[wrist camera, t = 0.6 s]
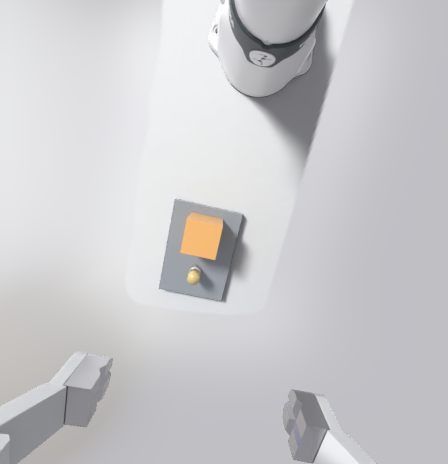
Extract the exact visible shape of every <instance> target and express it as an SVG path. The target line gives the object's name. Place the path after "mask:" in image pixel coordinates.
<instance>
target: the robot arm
mask: <svg viewBox="0 0 448 464" xmlns="http://www.w3.org/2000/svg"><path fill="white" fill-rule="evenodd" d="M327 1H328V0H221V3H220V5H219V8H218V11H217V13H216V16H215V19H214V22H213V24H212V27H211V30H210V32H209V36H208V43H209V46H210V47H211V49H212V50H213V51H214V52H215V54H216V55H217V56H218V58H219V60H220V62H221V66H222V69H223V71H224V73H225V75H226V77H227V79H228V80H229V82H230V83H231V84H232V85H233V86H234V87H235V88H236V89H237V90H239V91H240V92H242V93H244V94H246V95H249V96H254V97H263V96H268V95H271V94H274V93H276V92H278V91H279V90H281V89H282V88H283V87H284V86H285V85H286V84H287V83H288V82H289V81H290V80H291V79H293V78H294V77H296V76H299V75H301V74H303V73H305V72H307V71H308V70H309V68H310V66H311V63H312V54H313V47H314V45H315V43H316V38H315V34H316V27H317V25H318V23H319V21H320V18H321V16H322V13H323V11H324V8H325V5H326V2H327ZM216 31H217V33H216ZM112 360H113V359H112V358H110V357H105V356H101V355H95V354H91V353H85V352H80V351H77V352H75V353H74V354H73V355H72V356H71V357H70V359H69V360H68V361H67V362H66V363H65V365H64V366H63V367H62V368H61V369H60V370H59V372H58V373H57V374H56V375H55V376H54V377H53V379H52V380H51V381H50V382H49V383H43V384H41V385H40V386H38V387H36V388H34V389H32V390H30V391H29V392H26V393H24V394H22V395H20V396H19V397H17V398H15V399H13V400H11V401H9V402H7V403H5V404H4V405H1V406H0V464H17V463H18V462H20V461H21V460H22V459H23V458H25V457H26V456H27V455H28V454H30V453H31V452H32V451H33V450H34V449H36V448H37V447H38V446H39V445H41V444H42V443H43V442H44V441H45V440H47V439H48V438H49V437H50V436H52V435H53V434H54V433H55V432H57V431H58V430H59V429H60V428H62V427H63V424H64V425H73V426H80V427H87V425H88V424H89V422H90V420H91V418H92V416H93V414H94V413H95V411H96V406H97V402H98V401H100V400H101V399H102V398H103V396H104V394H105V392H106V389H107V387H108V384H109V381H110V376H111V373H110V371H109V369H110V368H111V366H112ZM288 397H289V402H287V403H286V404H285V406H284V409H283V422H284V427H285V430H286V431H287V432H288V434H289V435H290V437H289V440H288V442H289V446H290V450H291V454H292V458H293V459H294V460H298V461H303V462H308V463H313V464H376V463H375V462H374V461H373V460H372V458H371V457H369V456H368V454H367V453H365V451H364V450H363V449H362V448H361V447H359V445H358V444H357V443H356V442H355V441H354V440H353V439H352V438H351V437H350V436H349V435H348V434H347V433H343V432H342V430H341V428H340V425H339V423H338V421H337V419H336V418H335V415H334V413H333V411H332V409H331V407H330V405H329V403H328V401H327V399H326V397H325V396H324V395H321V394H316V393H310V392H304V391H298V390H291V391H290V392H289V395H288Z"/></svg>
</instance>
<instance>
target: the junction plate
mask: <svg viewBox="0 0 448 464" xmlns="http://www.w3.org/2000/svg"><path fill="white" fill-rule="evenodd" d="M192 212H193V213H197V214H202V215H206V216H211V217H215V218H220V219H223V228H222V233H221V237H220V241H219V246H218V250H217V254H216V258H215V260H212V259H207V258H203V257H198V256H193V255H188V254H184V253H180V251H181V246H182V241H183V236H184V230H185V225H186V220H187V218H188V216H189V215H190V214H191V213H192ZM242 216H243V214H241V213H237V212H233V211H228V210H224V209H220V208H215V207H211V206H206V205H202V204H198V203H193V202H189V201H184V200H180V199H175V201H174V207H173V213H172V218H171V224H170V229H169V235H168V240H167V246H166V252H165V257H164V263H163V268H162V274H161V279H160V285H159V289H163V290H168V291H173V292H178V293H183V294H188V295H193V296H198V297H203V298H208V299H213V300H218V301H221V299H222V295H223V291H224V287H225V283H226V280H227V276H228V272H229V268H230V264H231V260H232V256H233V252H234V248H235V244H236V240H237V236H238V232H239V228H240V224H241V220H242Z"/></svg>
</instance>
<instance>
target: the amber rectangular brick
mask: <svg viewBox="0 0 448 464" xmlns="http://www.w3.org/2000/svg"><path fill="white" fill-rule="evenodd" d="M222 228H223V219H220V218H215V217H211V216H206V215H202V214H197V213H193V212H192V213H191V214H190V215H189V216H188V218H187V220H186V225H185V230H184V236H183V241H182V246H181V251H180V253H184V254H188V255H193V256H198V257H203V258H207V259H212V260H215V258H216V254H217V250H218V246H219V241H220V237H221V233H222Z"/></svg>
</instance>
